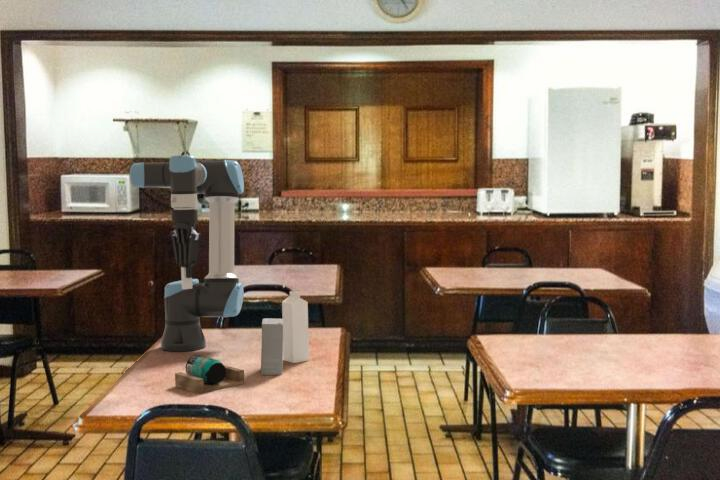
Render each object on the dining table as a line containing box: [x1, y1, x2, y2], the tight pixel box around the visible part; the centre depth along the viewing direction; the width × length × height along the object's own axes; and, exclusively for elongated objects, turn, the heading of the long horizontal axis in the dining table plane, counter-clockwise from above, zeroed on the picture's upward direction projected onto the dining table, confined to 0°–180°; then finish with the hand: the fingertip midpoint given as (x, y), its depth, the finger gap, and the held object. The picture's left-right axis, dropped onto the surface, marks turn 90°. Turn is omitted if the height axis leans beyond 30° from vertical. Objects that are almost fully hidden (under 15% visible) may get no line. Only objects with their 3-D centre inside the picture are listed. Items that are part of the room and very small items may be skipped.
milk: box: [281, 290, 310, 364], centre depth 277 cm, size 6×6×22 cm
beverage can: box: [185, 354, 226, 384], centre depth 248 cm, size 7×7×12 cm
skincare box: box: [260, 317, 284, 376], centre depth 262 cm, size 8×7×16 cm
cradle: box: [174, 364, 246, 394], centre depth 247 cm, size 12×16×4 cm
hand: (187, 288), depth 256 cm, fingers closed
